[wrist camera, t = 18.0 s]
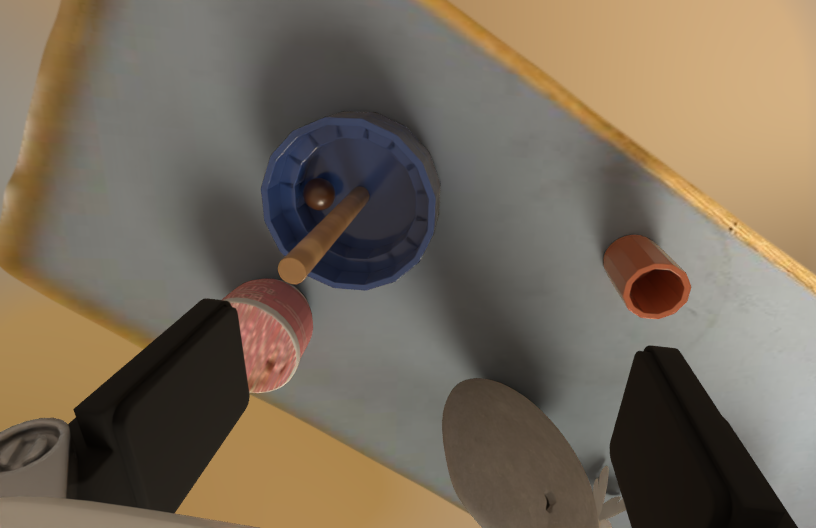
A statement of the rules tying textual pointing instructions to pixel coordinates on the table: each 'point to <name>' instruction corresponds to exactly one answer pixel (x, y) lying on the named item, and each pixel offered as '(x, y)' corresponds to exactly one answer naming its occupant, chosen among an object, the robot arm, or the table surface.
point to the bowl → (347, 169)
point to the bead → (319, 194)
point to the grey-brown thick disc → (512, 461)
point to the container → (271, 330)
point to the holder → (646, 277)
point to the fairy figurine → (610, 506)
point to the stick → (321, 238)
